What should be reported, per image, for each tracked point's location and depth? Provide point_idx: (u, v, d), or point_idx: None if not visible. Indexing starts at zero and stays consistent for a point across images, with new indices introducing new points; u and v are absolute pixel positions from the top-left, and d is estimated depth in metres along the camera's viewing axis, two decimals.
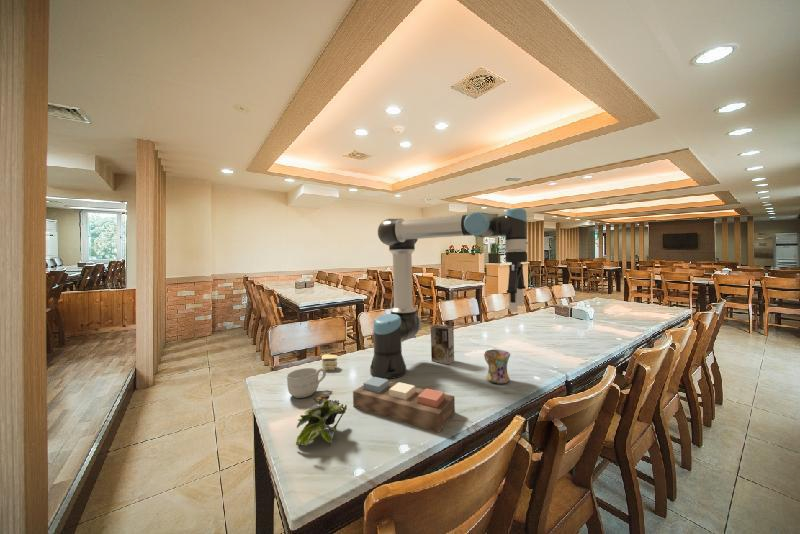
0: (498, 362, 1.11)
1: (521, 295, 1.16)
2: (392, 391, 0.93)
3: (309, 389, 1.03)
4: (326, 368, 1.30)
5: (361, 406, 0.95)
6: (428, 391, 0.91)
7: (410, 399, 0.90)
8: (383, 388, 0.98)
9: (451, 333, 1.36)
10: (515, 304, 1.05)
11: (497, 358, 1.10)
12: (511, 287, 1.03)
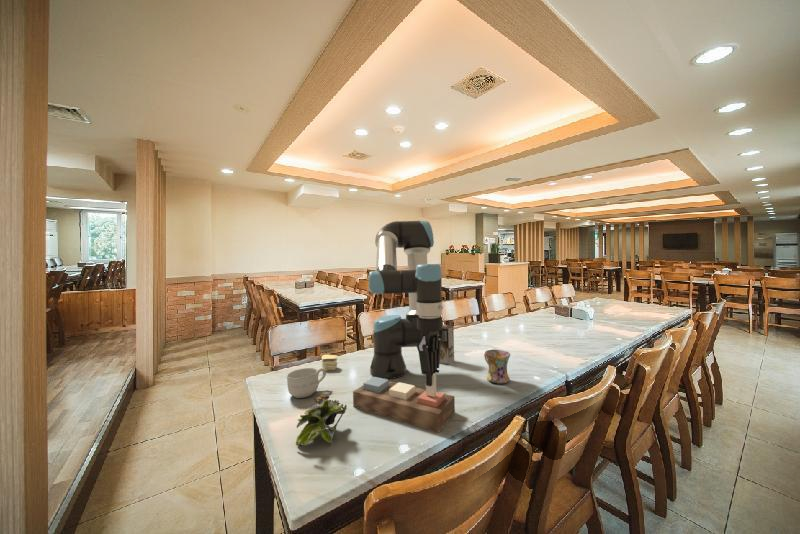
0: (498, 362, 1.11)
1: None
2: (392, 391, 0.93)
3: (309, 389, 1.03)
4: (326, 368, 1.30)
5: (361, 406, 0.95)
6: None
7: (410, 399, 0.90)
8: (383, 388, 0.98)
9: (451, 333, 1.36)
10: (432, 387, 0.88)
11: (497, 358, 1.10)
12: (424, 371, 0.86)
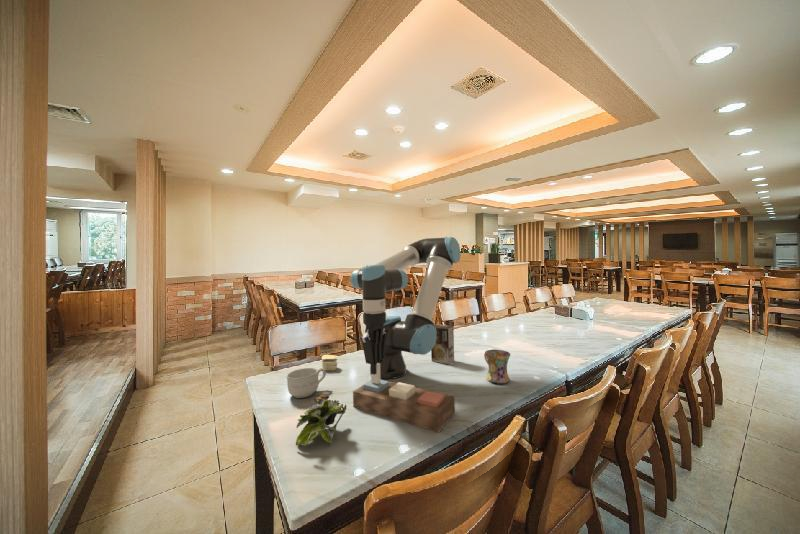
0: (498, 362, 1.11)
1: None
2: (392, 391, 0.93)
3: (309, 389, 1.03)
4: (326, 368, 1.30)
5: (361, 406, 0.95)
6: (428, 393, 0.91)
7: (410, 399, 0.90)
8: None
9: (451, 333, 1.36)
10: (376, 376, 0.98)
11: (497, 358, 1.10)
12: (368, 360, 0.96)
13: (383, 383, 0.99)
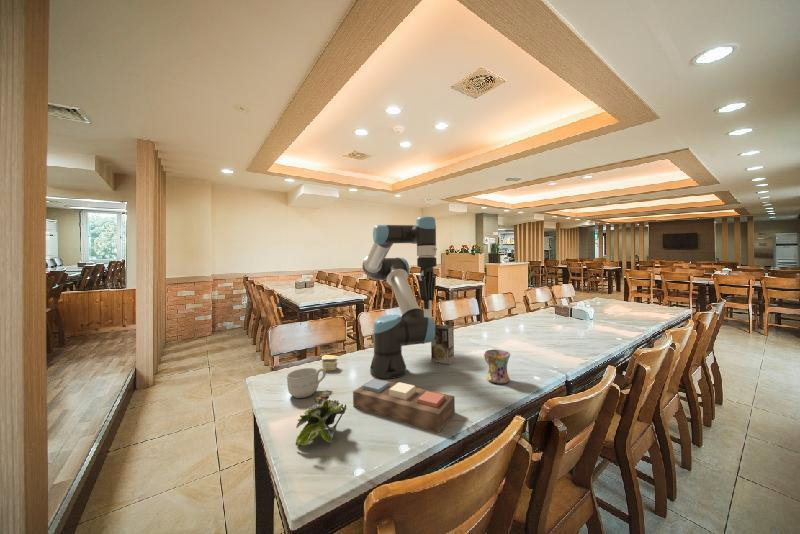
0: (498, 362, 1.11)
1: None
2: (392, 391, 0.93)
3: (309, 389, 1.03)
4: (326, 369, 1.29)
5: (361, 406, 0.95)
6: (428, 393, 0.91)
7: (410, 399, 0.90)
8: None
9: (451, 333, 1.36)
10: (428, 310, 1.17)
11: (497, 358, 1.10)
12: (423, 296, 1.14)
13: (383, 384, 0.99)
